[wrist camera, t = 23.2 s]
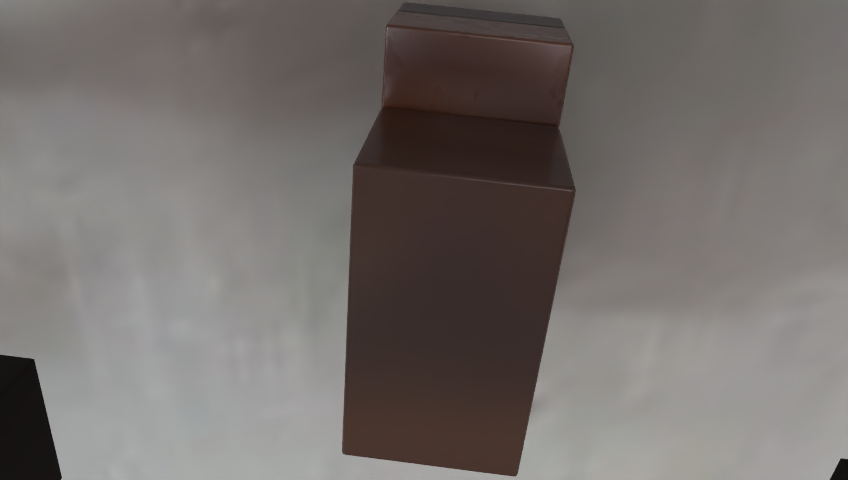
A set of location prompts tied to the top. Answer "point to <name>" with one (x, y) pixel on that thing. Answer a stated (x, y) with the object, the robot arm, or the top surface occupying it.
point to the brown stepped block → (456, 238)
